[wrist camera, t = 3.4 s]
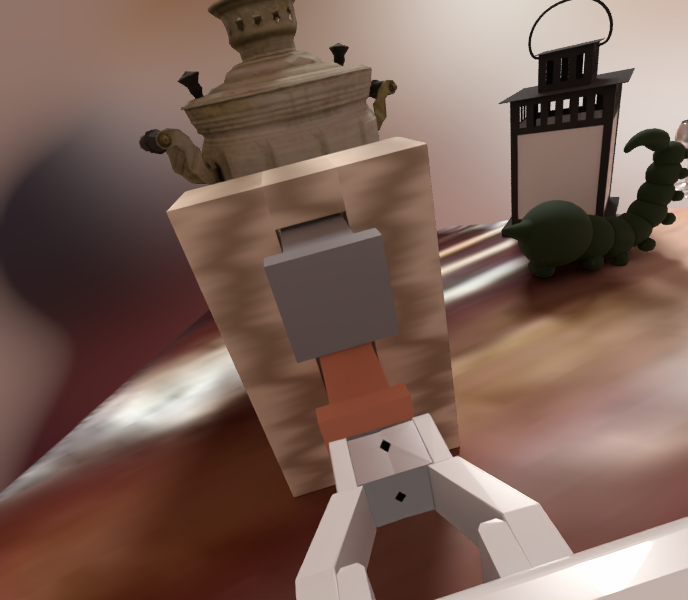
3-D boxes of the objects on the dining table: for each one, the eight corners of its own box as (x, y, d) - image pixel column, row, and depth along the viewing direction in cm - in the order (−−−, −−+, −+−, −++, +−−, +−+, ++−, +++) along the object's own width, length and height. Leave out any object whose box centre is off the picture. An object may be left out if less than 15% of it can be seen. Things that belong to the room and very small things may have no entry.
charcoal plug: (362, 269, 29) (346, 194, 26) (399, 333, 21) (381, 234, 18) (288, 289, 28) (264, 216, 26) (297, 363, 20) (263, 267, 18)
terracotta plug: (384, 373, 33) (372, 318, 31) (422, 458, 25) (410, 395, 23) (321, 391, 33) (304, 338, 30) (339, 484, 25) (317, 422, 22)
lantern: (618, 202, 76) (645, -20, 60) (610, 237, 65) (640, -26, 48) (523, 204, 86) (524, 15, 70) (502, 235, 75) (496, 17, 58)
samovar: (377, 268, 74) (328, 16, 55) (473, 325, 52) (445, -63, 33) (225, 331, 66) (106, 58, 47) (262, 430, 44) (66, -9, 25)
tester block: (435, 402, 42) (397, 136, 29) (460, 446, 36) (426, 143, 24) (290, 446, 41) (185, 191, 28) (293, 497, 35) (166, 211, 23)
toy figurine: (630, 246, 64) (484, 271, 63) (660, 121, 55) (490, 147, 54) (681, 268, 56) (514, 297, 55) (725, 124, 47) (526, 155, 46)
